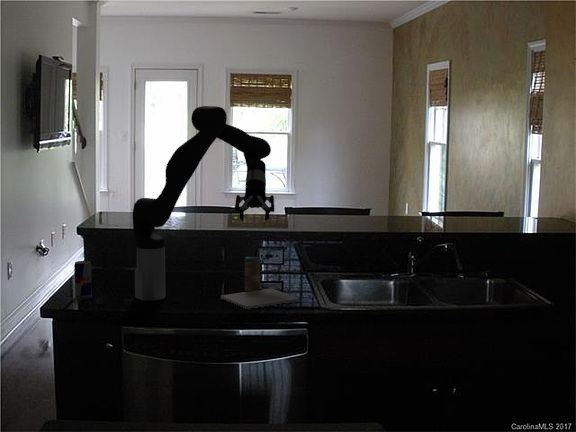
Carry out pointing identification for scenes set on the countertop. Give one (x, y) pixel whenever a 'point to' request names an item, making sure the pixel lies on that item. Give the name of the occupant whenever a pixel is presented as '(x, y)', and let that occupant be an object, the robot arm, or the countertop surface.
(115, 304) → the countertop surface
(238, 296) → the cream board
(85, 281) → the energy drink
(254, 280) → the brown tall block
